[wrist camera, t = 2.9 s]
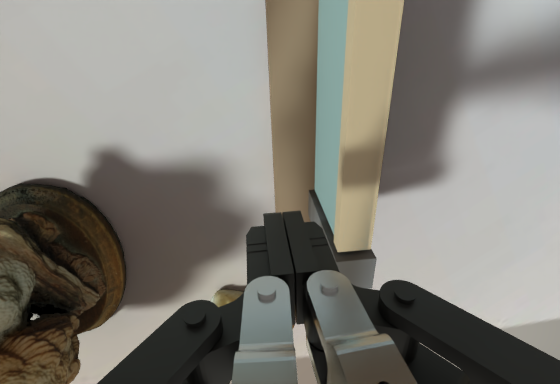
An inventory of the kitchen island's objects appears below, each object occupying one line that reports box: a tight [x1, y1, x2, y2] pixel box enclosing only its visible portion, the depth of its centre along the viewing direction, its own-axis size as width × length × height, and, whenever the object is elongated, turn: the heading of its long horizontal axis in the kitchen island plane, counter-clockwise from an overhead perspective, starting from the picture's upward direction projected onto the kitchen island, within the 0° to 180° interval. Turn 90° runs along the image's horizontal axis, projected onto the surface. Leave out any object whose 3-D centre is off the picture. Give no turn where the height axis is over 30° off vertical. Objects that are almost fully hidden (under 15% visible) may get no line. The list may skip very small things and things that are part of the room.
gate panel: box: [315, 0, 404, 252], centre depth 18 cm, size 2×14×8 cm, turn 2°
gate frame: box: [265, 0, 376, 289], centre depth 19 cm, size 8×21×10 cm, turn 2°
